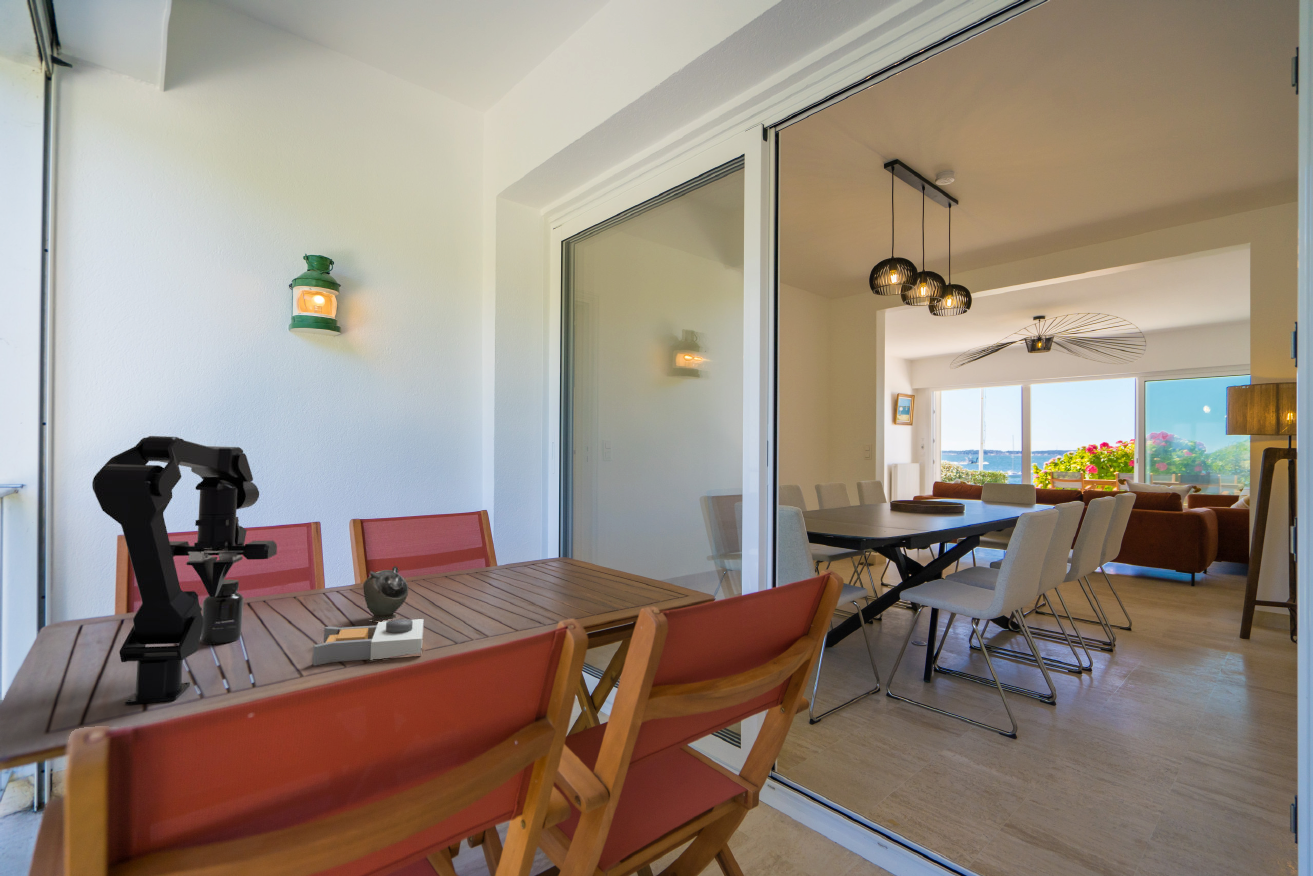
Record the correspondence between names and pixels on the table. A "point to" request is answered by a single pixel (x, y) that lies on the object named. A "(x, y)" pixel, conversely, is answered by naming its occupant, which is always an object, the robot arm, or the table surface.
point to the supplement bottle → (223, 615)
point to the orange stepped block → (349, 635)
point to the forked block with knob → (372, 642)
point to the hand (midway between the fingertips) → (213, 596)
